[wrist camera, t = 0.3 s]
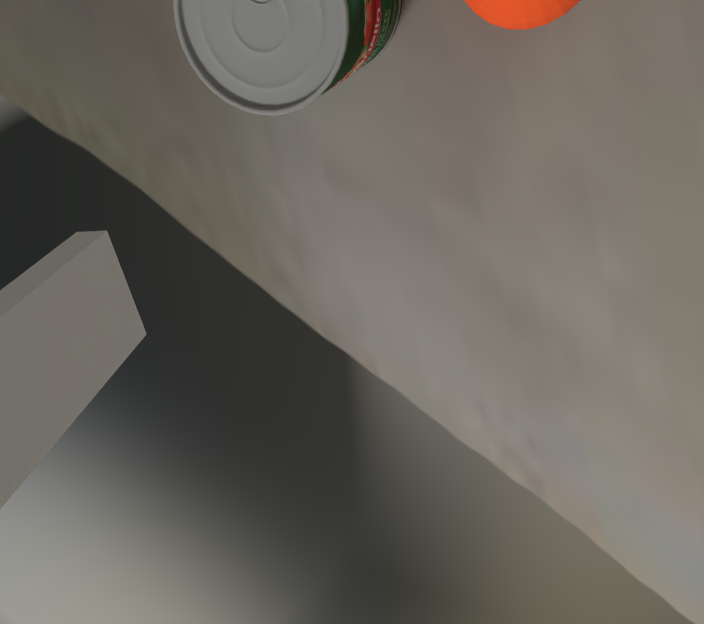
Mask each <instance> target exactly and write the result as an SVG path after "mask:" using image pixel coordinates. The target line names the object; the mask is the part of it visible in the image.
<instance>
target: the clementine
mask: <svg viewBox="0 0 704 624" xmlns="http://www.w3.org/2000/svg"><path fill="white" fill-rule="evenodd" d="M465 1H466V3H467V4H468V5H469V6H470V7H471V9H472V10H473V11H474V12H475V13H476V14H477V15H479V16H480V17H482V18H483V19H485V20H486V21H488V22H489V23H491V24H494V25H497V26H500V27H504V28H507V29H530V28H534V27H538V26H542V25H545V24H548V23H550V22H552V21H553V20H555V19H557V18H559V17H561V16H562V15H564V14H566V13H567V12H568V11H569V10H570V9H571V8H572V7H573V6H575V5H576V4H577V3H578V2H579V1H580V0H465Z"/></svg>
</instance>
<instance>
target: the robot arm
mask: <svg viewBox="0 0 704 624" xmlns="http://www.w3.org/2000/svg"><path fill="white" fill-rule="evenodd" d="M145 335H146V332H145V329H144V327H143V324H142V322H141V319H140V316H139V314H138V311H137V308H136V306H135V303H134V301H133V298H132V295H131V293H130V290H129V288H128V285H127V282H126V280H125V277H124V274H123V272H122V269H121V267H120V264H119V261H118V259H117V256H116V254H115V251H114V248H113V246H112V243H111V241H110V238H109V235H108V233H107V231H91V232H76V233H75V234H74V235H72V236H71V237H70V238H68V239H67V240H66V241H65V242H63V243H62V244H61V245H59V246H58V247H57V248H55V249H54V250H53V251H52V252H50V253H49V254H48V255H46V256H45V257H44V258H42V259H41V260H40V261H38V262H37V263H36V264H35V265H33V266H32V267H31V268H29V269H28V270H27V271H25V272H24V273H23V274H22V275H20V276H19V277H18V278H16V279H15V280H14V281H12V282H11V283H10V284H8V285H7V286H6V287H4V288H3V289H2V290H1V291H0V509H1V508H2V507H3V505H4V504H5V503H6V502H7V501H8V499H9V498H10V497H11V496H12V495H13V493H14V492H15V491H16V490H17V488H18V487H19V486H20V485H21V484H22V483H23V481H24V480H25V479H26V478H27V477H28V475H29V474H30V473H31V472H32V471H33V469H34V468H35V467H36V466H37V465H38V463H39V462H40V461H41V460H42V459H43V457H44V456H45V455H46V454H47V453H48V451H49V450H50V449H51V448H52V446H53V445H54V444H55V443H56V442H57V441H58V439H59V438H60V437H61V436H62V435H63V433H64V432H65V431H66V430H67V429H68V427H69V426H70V425H71V424H72V423H73V421H74V420H75V419H76V418H77V417H78V415H79V414H80V413H81V412H82V411H83V409H84V408H85V407H86V406H87V405H88V403H89V402H90V401H91V400H92V399H93V398H94V396H95V395H96V394H97V393H98V392H99V390H100V389H101V388H102V387H103V385H104V384H105V383H106V382H107V381H108V379H109V378H110V377H111V376H112V375H113V374H114V372H115V371H116V370H117V369H118V368H119V366H120V365H121V364H122V363H123V361H124V360H125V359H126V358H127V357H128V356H129V354H130V353H131V352H132V351H133V349H134V348H135V347H136V346H137V345H138V344H139V342H140V341H141V340H142V339H143V338H144V336H145Z"/></svg>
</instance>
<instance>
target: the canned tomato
mask: <svg viewBox="0 0 704 624" xmlns="http://www.w3.org/2000/svg"><path fill="white" fill-rule="evenodd" d="M400 9H401V0H174V16H175V23H176V29H177V32H178V35H179V39H180V42H181V45H182V48H183V50H184V52H185V54H186V56H187V58H188V60H189V62H190V64H191V66H192V67H193V69H194V70H195V72H196V73H197V74H198V76H199V77H200V79H201V80H202V81H203V82H204V83H205V84H206V85H207V86H208V87H209V88H210V89H211V90H212V91H213V92H214V93H215V94H216V95H218V96H219V97H220V98H222V99H223V100H224V101H226V102H227V103H229V104H231V105H233V106H235V107H237V108H239V109H241V110H243V111H247V112H251V113H255V114H259V115H280V114H285V113H291V112H293V111H296V110H298V109H300V108H303V107H305V106H307V105H308V104H310V103H311V102H312V101H314V100H315V99H317V98H318V97H319V96H320V95H322V94H324V93H325V92H326V91H328V90H330V89H331V88H333V87H334V86H335V85H337V84H338V83H340V82H342V81H343V80H344V79H346V78H347V77H349V76H350V75H352V74H354V73H355V72H356V71H358V70H359V69H361V68H363V67H365V66H366V65H368V64H369V63H371V62H372V61H373V60H375V59H376V58H377V57H378V56H379V55H380V54H381V53H382V51H383V50H384V49H385V48H386V46H387V45H388V43H389V41H390V40H391V38H392V37H393V34H394V31H395V29H396V26H397V24H398V19H399V14H400Z"/></svg>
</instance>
